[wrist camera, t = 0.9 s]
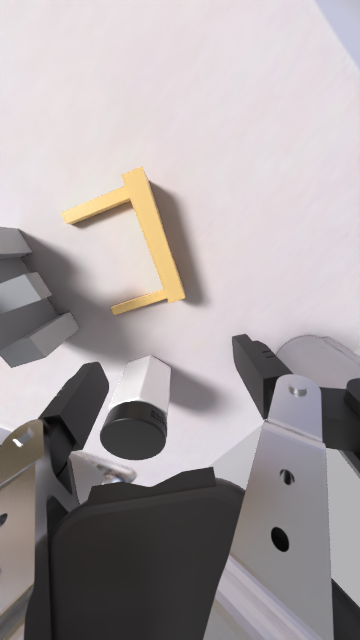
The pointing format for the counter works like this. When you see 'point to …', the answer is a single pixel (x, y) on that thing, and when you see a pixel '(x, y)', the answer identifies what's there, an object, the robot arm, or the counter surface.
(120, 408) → the jar
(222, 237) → the counter surface
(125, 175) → the tan u-shaped bracket
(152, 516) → the robot arm
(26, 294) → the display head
